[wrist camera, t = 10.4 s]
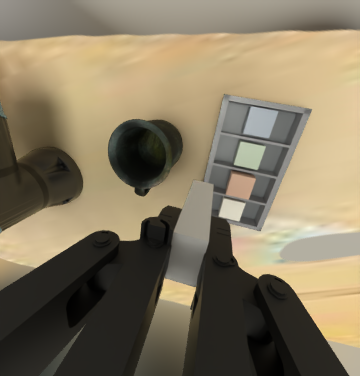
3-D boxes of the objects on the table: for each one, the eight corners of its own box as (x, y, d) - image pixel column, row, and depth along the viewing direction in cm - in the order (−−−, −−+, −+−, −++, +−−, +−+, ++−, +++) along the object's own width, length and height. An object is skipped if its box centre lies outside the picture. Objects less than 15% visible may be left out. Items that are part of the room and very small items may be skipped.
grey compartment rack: (197, 206, 44) (195, 214, 40) (223, 96, 34) (224, 94, 31) (256, 221, 42) (260, 231, 39) (301, 109, 33) (312, 109, 29)
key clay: (225, 189, 38) (225, 194, 36) (231, 169, 36) (232, 173, 34) (246, 194, 37) (248, 199, 35) (253, 174, 36) (256, 178, 34)
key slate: (241, 132, 34) (243, 133, 32) (249, 106, 33) (251, 106, 30) (265, 136, 34) (268, 138, 32) (274, 111, 32) (278, 111, 30)
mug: (190, 124, 37) (178, 129, 26) (176, 187, 43) (161, 213, 32) (140, 111, 38) (109, 111, 27) (133, 175, 44) (104, 196, 33)
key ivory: (218, 211, 41) (218, 216, 39) (223, 193, 40) (223, 198, 37) (238, 215, 41) (239, 221, 39) (244, 198, 39) (245, 203, 37)
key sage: (233, 161, 37) (233, 164, 34) (239, 139, 35) (240, 141, 33) (255, 166, 36) (257, 169, 34) (263, 144, 34) (265, 146, 32)
